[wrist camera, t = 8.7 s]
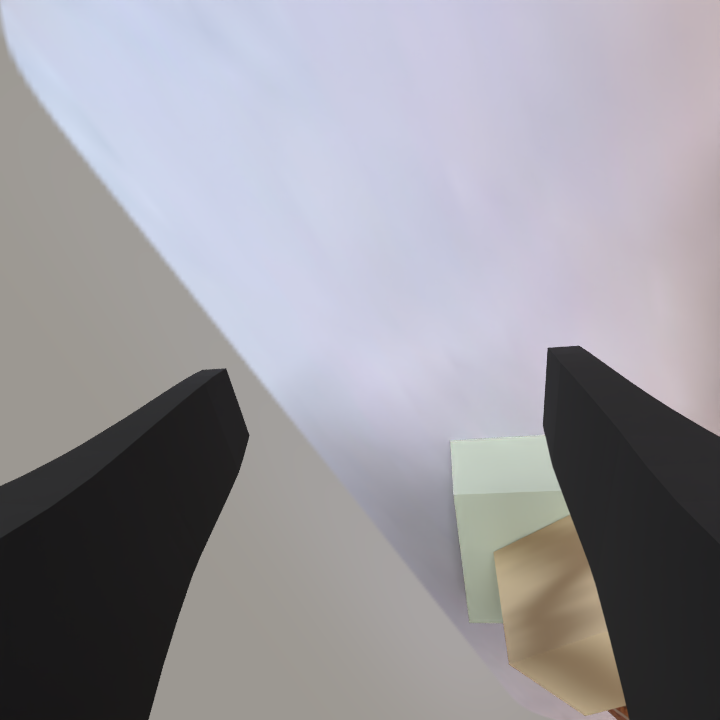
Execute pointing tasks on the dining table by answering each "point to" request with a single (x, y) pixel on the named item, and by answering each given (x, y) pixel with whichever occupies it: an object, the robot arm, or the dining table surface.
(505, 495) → the sage base block
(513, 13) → the dining table surface
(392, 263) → the dining table surface
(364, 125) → the dining table surface
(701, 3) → the dining table surface
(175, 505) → the robot arm
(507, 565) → the maple cube
